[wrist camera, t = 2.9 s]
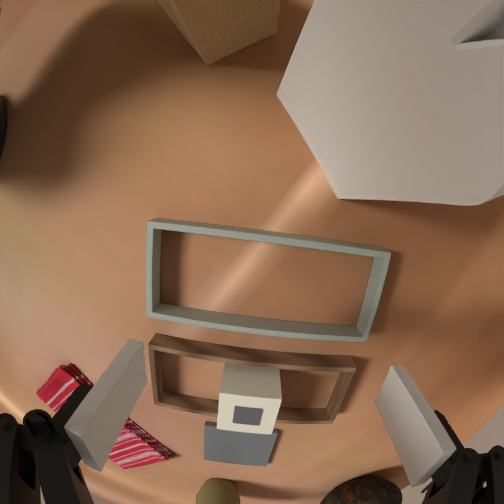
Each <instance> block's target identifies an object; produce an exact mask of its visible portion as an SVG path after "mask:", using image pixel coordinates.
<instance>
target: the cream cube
mask: <svg viewBox="0 0 504 504" xmlns="http://www.w3.org/2000/svg"><path fill="white" fill-rule="evenodd" d="M281 401H282V394H281V382H280V370H279V369H275V368H265V367H255V366H246V365H238V364H231V363H225V367H224V373H223V378H222V383H221V388H220V394H219V406H218V418H217V429H222V430H229V431H237V432H246V433H257V434H272V431H273V428H274V425H275V421H276V418H277V415H278V411H279V408H280V404H281Z"/></svg>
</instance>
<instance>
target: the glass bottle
mask: <svg viewBox="0 0 504 504" xmlns="http://www.w3.org/2000/svg"><path fill="white" fill-rule="evenodd" d="M401 503H402V493H401V490H400V489H399V488H398V486H397V485H395V484H394V483H393V482H391V481H389V480H386V479H383V478H379V477H363V478H358V479H355V480H352V481H349V482H347V483H344V484H342V485H340V486H338V487H337V488H335V489H334V490H332V491H331V492H330V493H328V494H327V495H326V496H325V497H324V499H323V500H322V501H321V503H320V504H401Z"/></svg>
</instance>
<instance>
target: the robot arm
mask: <svg viewBox="0 0 504 504" xmlns="http://www.w3.org/2000/svg"><path fill="white" fill-rule="evenodd" d="M0 13H1V8H0ZM6 121H7V114H6V106H5V103H4V100H3V99H2V98H1V97H0V155H1V151H2V147H3V143H4V138H5V132H6ZM146 383H147V375H146V366H145V356H144V345H143V342H142V341H137V340H133V339H129V341H128V342H127V343H126V344H125V346H124V347H123V348H122V349H121V351H120V352H119V353H118V355H117V356H116V357H115V358H114V360H113V361H112V362H111V364H110V365H109V366H108V368H107V369H106V370H105V371H104V373H103V374H102V375H101V377H100V378H99V379H98V381H97V382H96V383H95V385H94V386H92V385H89V384H87V383H83V384H82V385H80V386H78V387H77V388H75V390H74V391H73V392H72V393H71V395H70V397H68V398H67V400H66V402H64V404H63V405H62V406H61V407H60V409H59V410H58V411H57V413H56V414H55V415H54V416H53V418H51V416H50V415H49V414H48V413H47V412H46V411H43V410H39V409H35V410H31V411H29V412H28V413H26V415H25V416H24V418H23V424H24V425H22V424H18V423H17V421H16V419H15V418H14V417H13V416H12V415H10V414H8V413H2V414H0V504H41V500H40V486H41V489H42V493H43V497H44V500H45V503H46V504H94V502H93V500H92V498H91V496H90V493H89V490H88V488H87V485H86V483H85V480H84V477H83V475H82V472H81V469H80V466H79V465H78V463H79V462H80V460H81V459H82V460H83V462H84V464H85V465H87V466H89V467H91V468H93V469H96V470H98V471H100V472H101V471H102V469H103V467H104V465H105V463H106V461H107V459H108V456H109V454H110V452H111V450H112V448H113V446H114V445H115V443H116V441H117V439H118V437H119V435H120V433H121V431H122V429H123V427H124V425H125V423H126V421H127V419H128V417H129V415H130V413H131V411H132V409H133V408H134V406H135V404H136V402H137V400H138V398H139V396H140V394H141V392H142V391H143V389H144V387H145V385H146ZM375 403H376V405H377V407H378V410H379V412H380V414H381V416H382V419H383V421H384V423H385V425H386V427H387V430H388V432H389V434H390V437H391V439H392V441H393V444H394V446H395V448H396V451H397V453H398V455H399V458H400V460H401V462H402V465H403V467H404V470H405V472H406V475H407V477H408V480H409V482H410V485H411V487H414V486H417V485H420V484H423V483H425V482H426V481H427V480H428V479H429V478H430V477H432V479H433V481H432V482H431V483H430V484H429V485H428V486H426V487H425V488H424V489H423V491H422V492H421V493H424V492H425V491H426V490H427V489H428V490H427V493H426V495H425V498H424V500H423V502H422V504H504V448H503V447H501V446H498V445H497V446H494V447H493V448H492V449H491V450H490V451H489V452H488V453H483V454H478V453H477V452H476V451H475V450H473V449H471V448H464V447H463V445H462V444H461V442H460V440H459V439H458V437H457V436H456V434H455V432H454V431H453V429H451V426H450V425H449V424H448V421H447V420H446V418H445V417H444V415H442V414H441V413H440V412H439V411H437V410H435V411H433V409H432V408H431V406H430V405H429V403H428V402H427V400H426V399H425V397H424V396H423V394H422V393H421V391H420V390H419V388H418V387H417V385H416V384H415V382H414V381H413V379H412V378H411V376H410V375H409V373H408V372H407V371H406V369H405V368H404V366H403V365H391V368H390V370H389V372H388V374H387V377H386V379H385V381H384V383H383V385H382V387H381V390H380V392H379V394H378V396H377V398H376V400H375ZM485 482H486V483H487V486H486V487H485V488H484V487H483V484H484V483H485Z"/></svg>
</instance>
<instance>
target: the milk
mask: <svg viewBox="0 0 504 504" xmlns="http://www.w3.org/2000/svg"><path fill="white" fill-rule="evenodd" d="M277 97H278V98H279V100H280V101H281V103H282V104H283V106H284V107H285V109H286V111H287V112H288V114H289V115H290V117H291V118H292V120H293V121H294V123H295V125H296V126H297V128H298V129H299V131H300V133H301V134H302V136H303V138H304V139H305V141H306V143H307V144H308V146H309V148H310V149H311V151H312V153H313V155H314V156H315V158H316V160H317V162H318V163H319V165H320V167H321V169H322V171H323V172H324V174H325V176H326V178H327V180H328V182H329V183H330V185H331V187H332V189H333V191H334V193H335V195H336V197H337V199H366V200H391V201H410V202H426V203H440V204H452V205H463V206H471V205H480V204H482V203H485V202H487V201H490V200H492V199H495V198H497V197H499V196H502V195H504V0H314V3H313V5H312V7H311V10H310V12H309V14H308V17H307V19H306V22H305V24H304V26H303V29H302V31H301V34H300V36H299V39H298V41H297V44H296V46H295V49H294V51H293V54H292V56H291V59H290V61H289V64H288V66H287V69H286V71H285V74H284V76H283V79H282V82H281V84H280V87H279V89H278V92H277Z"/></svg>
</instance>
